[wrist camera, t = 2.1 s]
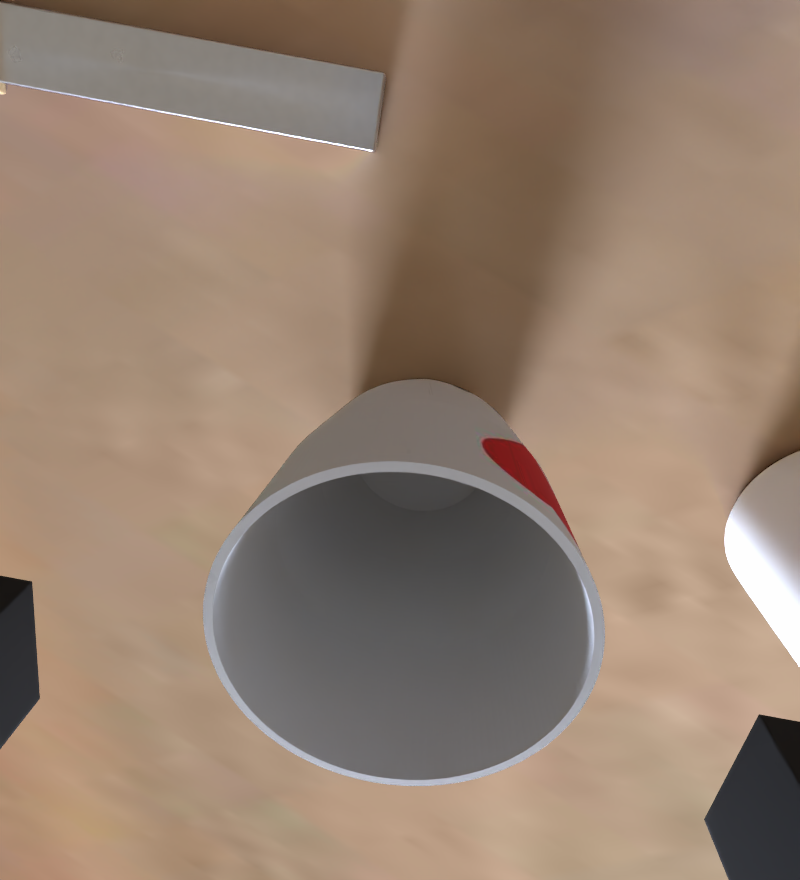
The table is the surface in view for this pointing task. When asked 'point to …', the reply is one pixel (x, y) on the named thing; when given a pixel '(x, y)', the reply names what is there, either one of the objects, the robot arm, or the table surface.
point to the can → (770, 547)
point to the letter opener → (190, 77)
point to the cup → (407, 595)
